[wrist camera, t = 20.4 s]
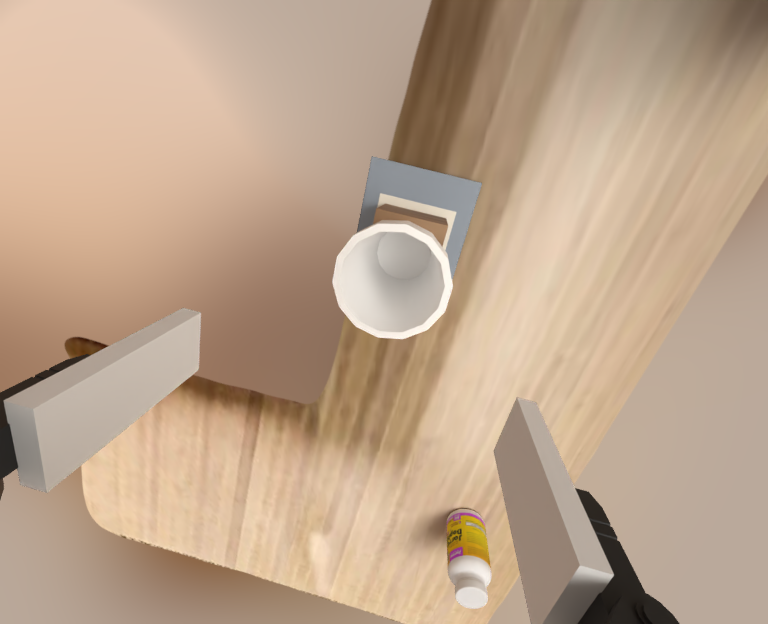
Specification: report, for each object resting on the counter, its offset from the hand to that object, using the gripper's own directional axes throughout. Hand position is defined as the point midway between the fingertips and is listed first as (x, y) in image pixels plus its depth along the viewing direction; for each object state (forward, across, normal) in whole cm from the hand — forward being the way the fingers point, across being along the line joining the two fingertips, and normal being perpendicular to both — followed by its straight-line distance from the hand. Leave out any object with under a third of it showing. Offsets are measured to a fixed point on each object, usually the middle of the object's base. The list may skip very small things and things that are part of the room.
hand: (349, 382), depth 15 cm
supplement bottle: (+37, +22, -46) cm, 63 cm away
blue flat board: (+37, 0, 0) cm, 37 cm away
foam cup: (+28, 0, 0) cm, 28 cm away
